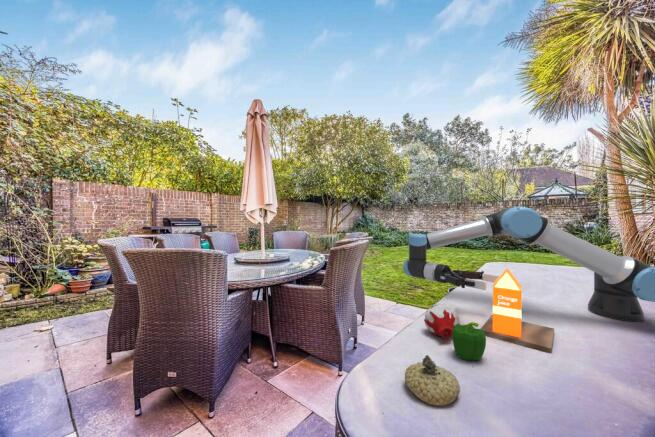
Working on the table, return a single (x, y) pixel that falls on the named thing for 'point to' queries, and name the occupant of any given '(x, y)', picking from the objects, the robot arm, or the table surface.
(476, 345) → the bell pepper
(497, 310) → the orange juice
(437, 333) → the white red rounded lump
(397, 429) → the table surface
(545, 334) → the board
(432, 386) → the acorn cap
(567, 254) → the robot arm
